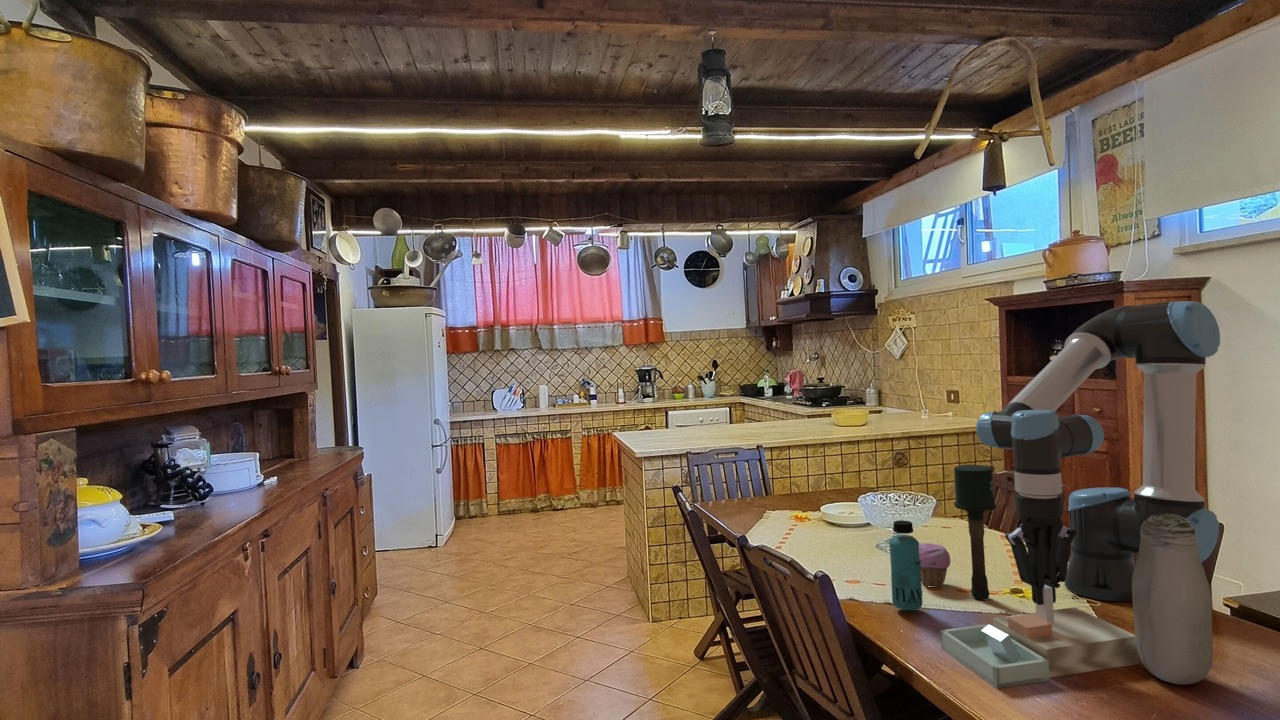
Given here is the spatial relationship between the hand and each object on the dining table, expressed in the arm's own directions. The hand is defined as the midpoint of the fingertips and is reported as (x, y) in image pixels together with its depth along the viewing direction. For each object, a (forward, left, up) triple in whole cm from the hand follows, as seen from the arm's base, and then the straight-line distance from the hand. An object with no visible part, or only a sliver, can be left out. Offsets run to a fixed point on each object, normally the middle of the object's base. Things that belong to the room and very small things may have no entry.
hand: (1045, 620), depth 123 cm
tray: (+11, 0, -7) cm, 13 cm away
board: (-3, 0, -7) cm, 7 cm away
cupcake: (-1, -39, -7) cm, 40 cm away
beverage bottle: (+13, -26, -7) cm, 30 cm away
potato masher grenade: (-6, -28, -7) cm, 30 cm away
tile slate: (+8, 0, -3) cm, 9 cm away
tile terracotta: (+3, 0, -2) cm, 4 cm away
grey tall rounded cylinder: (-13, +13, -7) cm, 20 cm away
